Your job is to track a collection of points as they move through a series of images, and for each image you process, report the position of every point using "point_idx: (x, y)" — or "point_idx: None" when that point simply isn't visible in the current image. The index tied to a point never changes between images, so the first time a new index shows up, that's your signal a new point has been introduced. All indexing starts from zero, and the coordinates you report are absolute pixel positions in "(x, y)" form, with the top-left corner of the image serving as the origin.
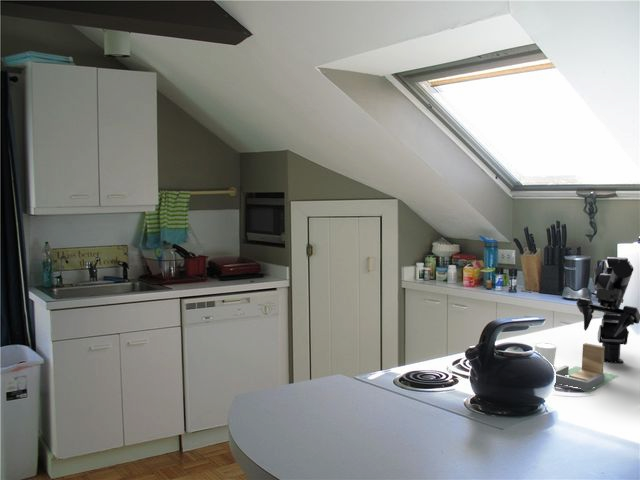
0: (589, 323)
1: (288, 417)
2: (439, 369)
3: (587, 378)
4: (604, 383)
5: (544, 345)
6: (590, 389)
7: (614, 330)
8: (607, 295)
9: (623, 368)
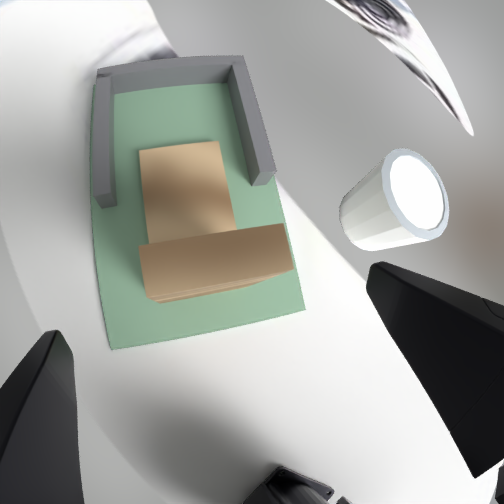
0: (423, 382)
1: None
2: (407, 43)
3: (150, 161)
4: (92, 195)
5: (421, 191)
6: None
7: (44, 366)
8: None
9: (183, 469)
